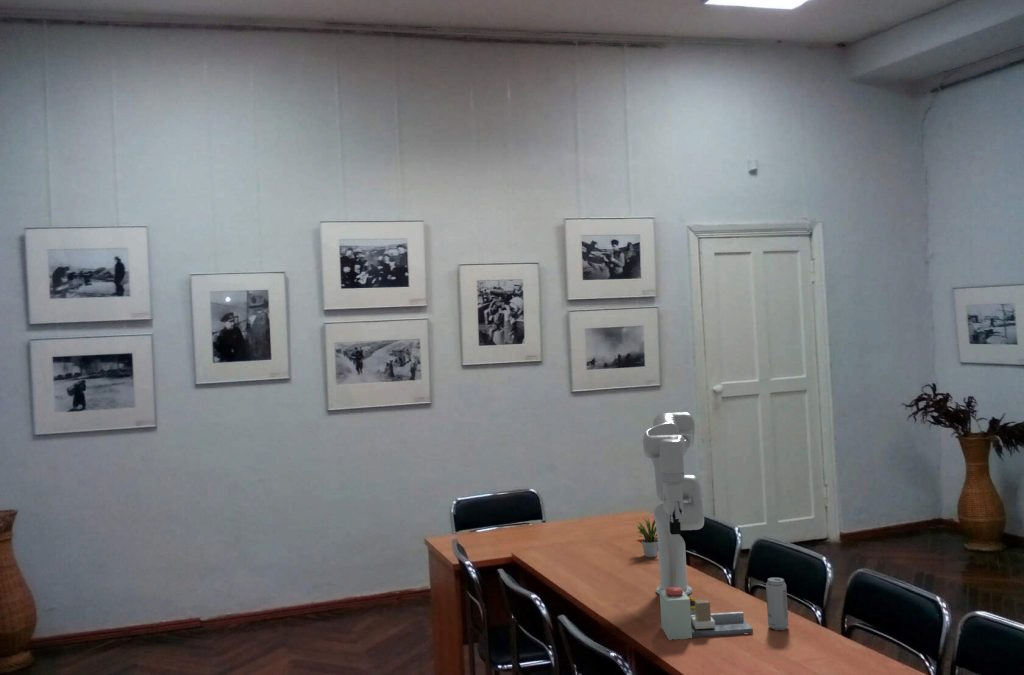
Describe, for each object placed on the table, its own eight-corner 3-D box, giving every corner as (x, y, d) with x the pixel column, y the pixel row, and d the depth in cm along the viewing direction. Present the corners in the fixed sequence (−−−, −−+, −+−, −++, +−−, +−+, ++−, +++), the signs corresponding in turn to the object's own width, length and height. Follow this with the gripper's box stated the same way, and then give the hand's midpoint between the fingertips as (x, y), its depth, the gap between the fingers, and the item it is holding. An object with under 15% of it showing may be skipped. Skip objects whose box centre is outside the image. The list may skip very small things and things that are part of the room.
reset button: (665, 606, 271) (664, 587, 271) (681, 605, 271) (680, 586, 271) (668, 611, 266) (667, 592, 266) (685, 610, 266) (684, 591, 266)
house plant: (669, 550, 369) (667, 512, 369) (672, 559, 355) (670, 519, 355) (635, 551, 370) (633, 513, 370) (637, 559, 357) (635, 520, 357)
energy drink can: (769, 624, 272) (766, 576, 272) (789, 625, 270) (786, 577, 270) (767, 630, 267) (764, 581, 267) (787, 632, 265) (785, 582, 265)
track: (684, 627, 273) (683, 615, 273) (744, 623, 274) (743, 611, 274) (691, 637, 264) (690, 624, 264) (753, 633, 265) (752, 620, 265)
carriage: (691, 623, 271) (690, 599, 271) (711, 622, 271) (709, 598, 271) (695, 629, 266) (694, 604, 266) (715, 627, 266) (714, 603, 266)
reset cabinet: (661, 628, 274) (659, 590, 274) (683, 626, 274) (681, 588, 274) (669, 640, 263) (666, 600, 263) (691, 638, 263) (689, 599, 263)
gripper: (656, 473, 288) (659, 528, 288) (665, 482, 273) (668, 540, 273) (679, 472, 288) (681, 527, 288) (689, 481, 273) (692, 539, 274)
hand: (675, 533), depth 281 cm, fingers closed
